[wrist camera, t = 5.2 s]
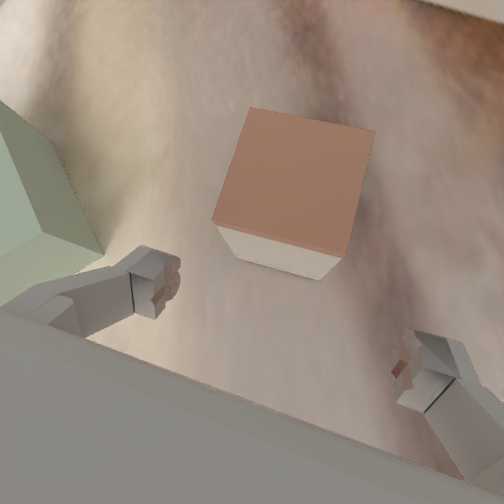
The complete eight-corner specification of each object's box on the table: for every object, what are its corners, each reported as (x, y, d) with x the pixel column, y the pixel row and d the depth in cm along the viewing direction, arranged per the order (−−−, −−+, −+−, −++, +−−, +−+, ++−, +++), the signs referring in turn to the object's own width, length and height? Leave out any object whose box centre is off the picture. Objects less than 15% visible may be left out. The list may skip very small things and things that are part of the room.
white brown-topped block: (319, 281, 20) (346, 254, 12) (236, 258, 21) (211, 219, 13) (339, 201, 21) (375, 131, 13) (260, 183, 22) (250, 107, 14)
